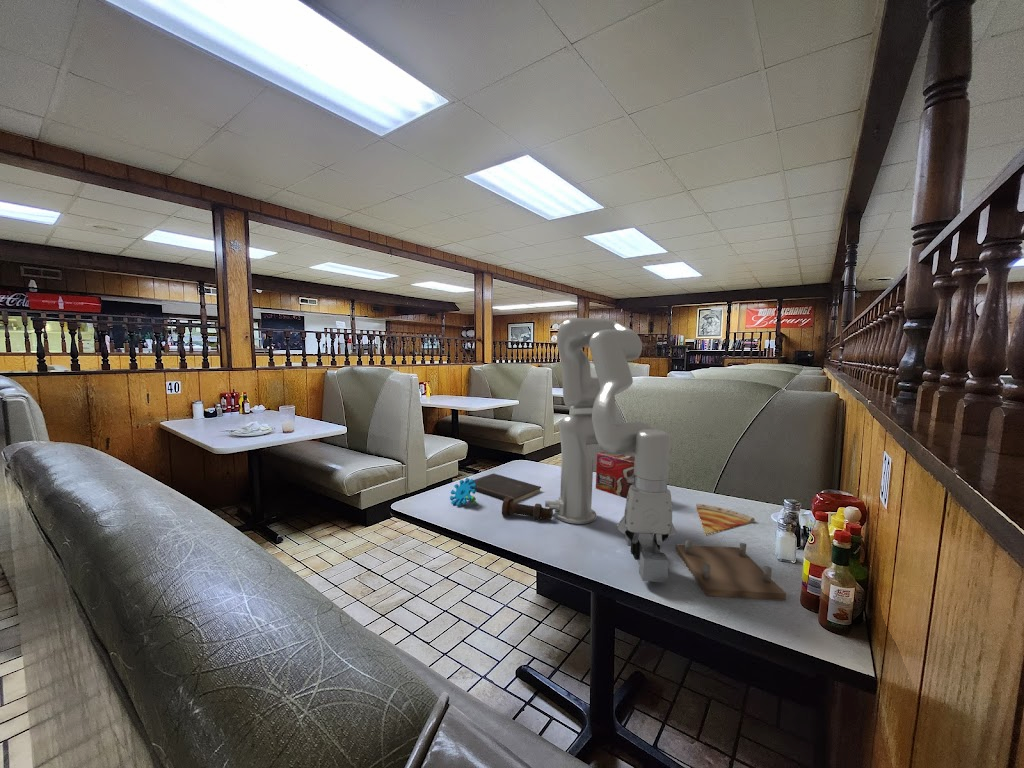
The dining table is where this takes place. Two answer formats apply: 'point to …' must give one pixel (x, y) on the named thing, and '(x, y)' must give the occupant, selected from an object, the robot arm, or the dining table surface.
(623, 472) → the ice cream box
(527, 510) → the bolt
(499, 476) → the hardcover book
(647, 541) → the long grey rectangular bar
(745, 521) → the pizza slice
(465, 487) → the gear
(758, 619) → the dining table surface
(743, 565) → the peg rack
